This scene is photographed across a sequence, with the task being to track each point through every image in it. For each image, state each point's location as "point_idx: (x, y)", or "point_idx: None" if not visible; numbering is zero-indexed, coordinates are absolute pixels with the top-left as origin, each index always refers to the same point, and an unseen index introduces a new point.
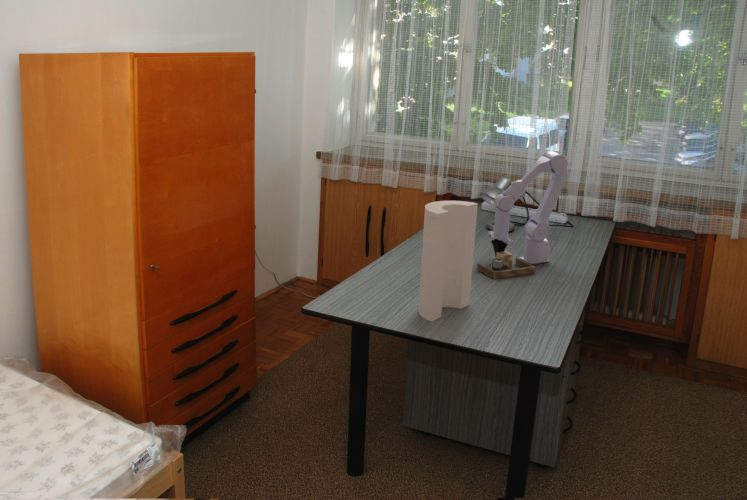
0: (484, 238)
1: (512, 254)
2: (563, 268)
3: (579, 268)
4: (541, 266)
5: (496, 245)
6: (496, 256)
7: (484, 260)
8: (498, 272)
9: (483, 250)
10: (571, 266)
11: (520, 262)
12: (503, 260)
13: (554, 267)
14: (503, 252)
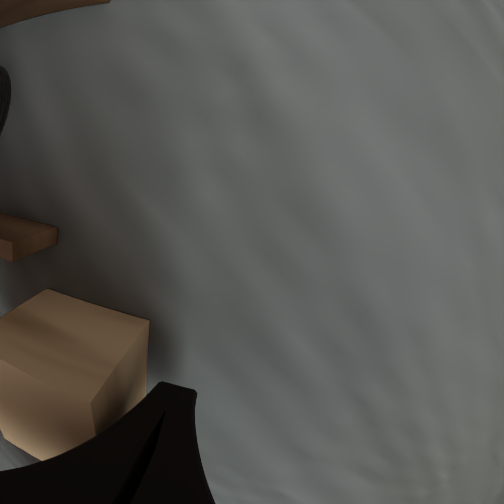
0: (491, 499)
1: (4, 435)
2: (4, 469)
3: None
4: (25, 455)
5: (54, 493)
6: (110, 362)
7: (293, 288)
8: None
9: (451, 445)
10: None
11: None
12: (9, 319)
13: (13, 466)
14: (64, 443)
